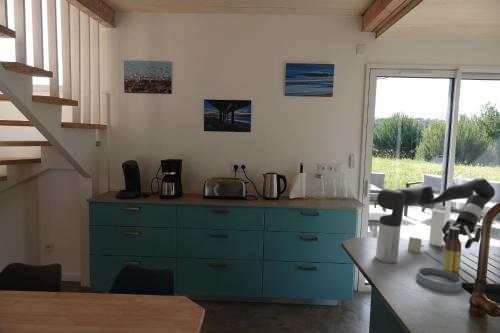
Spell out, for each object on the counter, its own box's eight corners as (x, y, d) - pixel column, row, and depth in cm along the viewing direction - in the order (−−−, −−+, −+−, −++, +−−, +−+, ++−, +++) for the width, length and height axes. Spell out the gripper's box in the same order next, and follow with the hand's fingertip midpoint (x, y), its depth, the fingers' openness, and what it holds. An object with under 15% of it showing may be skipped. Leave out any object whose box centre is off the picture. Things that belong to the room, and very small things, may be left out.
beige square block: (408, 249, 176) (410, 235, 175) (423, 252, 172) (424, 238, 172) (407, 250, 173) (409, 236, 172) (422, 254, 170) (424, 239, 169)
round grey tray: (408, 274, 141) (409, 266, 141) (442, 274, 143) (443, 267, 143) (432, 291, 126) (433, 283, 126) (470, 291, 128) (471, 283, 127)
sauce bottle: (457, 271, 148) (462, 227, 146) (460, 276, 142) (466, 231, 140) (440, 268, 150) (445, 225, 148) (443, 273, 144) (448, 228, 142)
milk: (440, 246, 181) (445, 207, 179) (428, 243, 186) (433, 205, 183) (443, 244, 186) (448, 205, 184) (431, 241, 190) (435, 203, 188)
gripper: (489, 224, 146) (475, 254, 141) (454, 217, 158) (440, 244, 152) (486, 214, 142) (471, 244, 137) (450, 207, 154) (435, 235, 148)
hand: (455, 244), depth 145 cm, fingers open, 8 cm apart
